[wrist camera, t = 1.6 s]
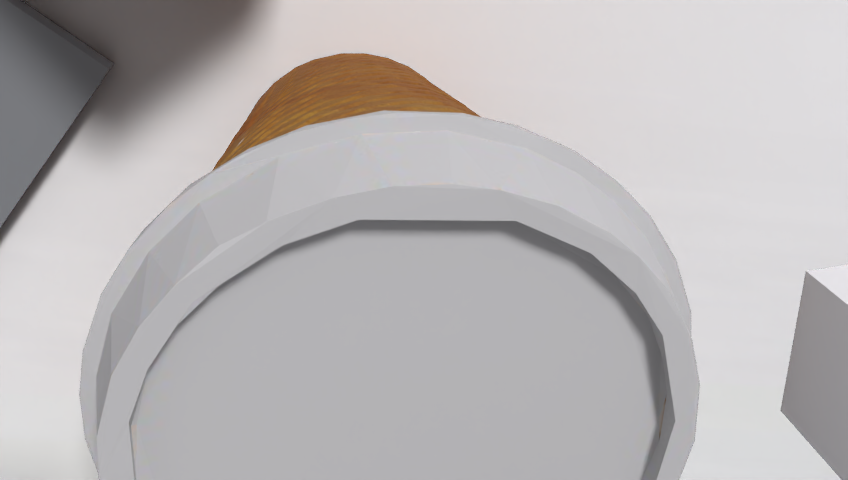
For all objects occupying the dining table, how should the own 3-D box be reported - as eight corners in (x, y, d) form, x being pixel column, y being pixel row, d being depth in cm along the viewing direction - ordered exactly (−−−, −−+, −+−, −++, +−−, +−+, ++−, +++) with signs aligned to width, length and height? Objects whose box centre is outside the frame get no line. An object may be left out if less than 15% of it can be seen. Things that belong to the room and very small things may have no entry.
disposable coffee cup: (255, 349, 24) (228, 746, 13) (113, 55, 19) (-101, 297, 9) (548, 253, 24) (754, 570, 13) (473, -62, 19) (696, 36, 9)
